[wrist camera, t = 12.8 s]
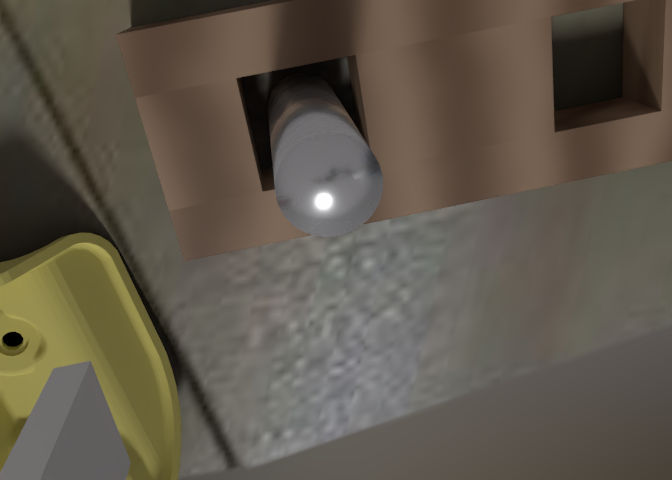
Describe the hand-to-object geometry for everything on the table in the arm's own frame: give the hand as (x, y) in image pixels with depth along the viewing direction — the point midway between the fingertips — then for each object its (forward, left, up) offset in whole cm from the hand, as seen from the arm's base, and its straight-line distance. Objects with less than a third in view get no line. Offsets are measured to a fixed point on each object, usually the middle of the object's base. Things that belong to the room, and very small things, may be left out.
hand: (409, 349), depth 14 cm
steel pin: (+1, 0, -25) cm, 25 cm away
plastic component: (+19, +14, -25) cm, 34 cm away
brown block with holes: (-7, 0, -25) cm, 26 cm away
